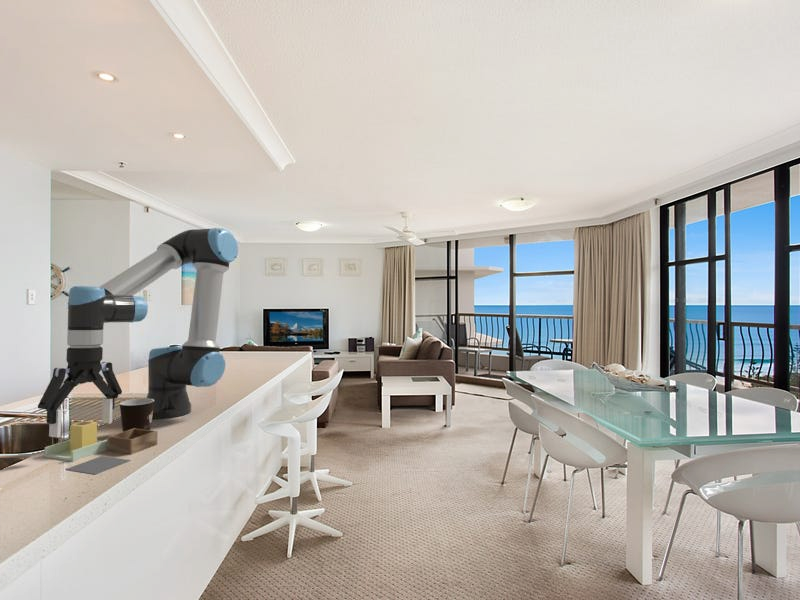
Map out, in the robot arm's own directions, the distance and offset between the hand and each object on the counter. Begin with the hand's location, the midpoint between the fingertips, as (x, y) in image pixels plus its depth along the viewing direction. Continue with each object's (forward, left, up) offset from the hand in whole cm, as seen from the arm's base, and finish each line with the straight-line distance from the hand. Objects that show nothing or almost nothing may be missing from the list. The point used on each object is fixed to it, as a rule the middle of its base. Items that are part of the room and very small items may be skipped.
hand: (82, 429), depth 112 cm
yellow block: (0, 0, -6) cm, 6 cm away
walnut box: (-6, +10, -6) cm, 13 cm away
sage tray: (0, 0, -6) cm, 6 cm away
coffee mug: (-16, +2, -6) cm, 18 cm away
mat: (+6, +13, -6) cm, 15 cm away
